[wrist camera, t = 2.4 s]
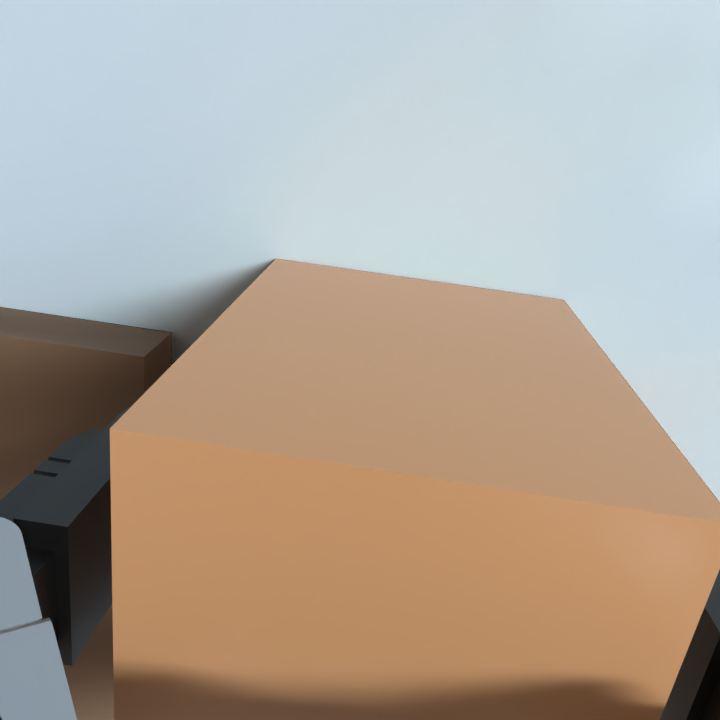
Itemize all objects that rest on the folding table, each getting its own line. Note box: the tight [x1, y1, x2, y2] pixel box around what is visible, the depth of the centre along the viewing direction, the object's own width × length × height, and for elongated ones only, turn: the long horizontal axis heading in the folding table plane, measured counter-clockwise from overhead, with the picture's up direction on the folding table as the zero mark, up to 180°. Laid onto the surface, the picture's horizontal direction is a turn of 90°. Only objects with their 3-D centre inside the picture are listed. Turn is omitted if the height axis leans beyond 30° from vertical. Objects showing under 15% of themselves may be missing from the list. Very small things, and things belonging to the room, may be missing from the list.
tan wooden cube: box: [110, 259, 720, 720], centre depth 11 cm, size 6×6×8 cm
